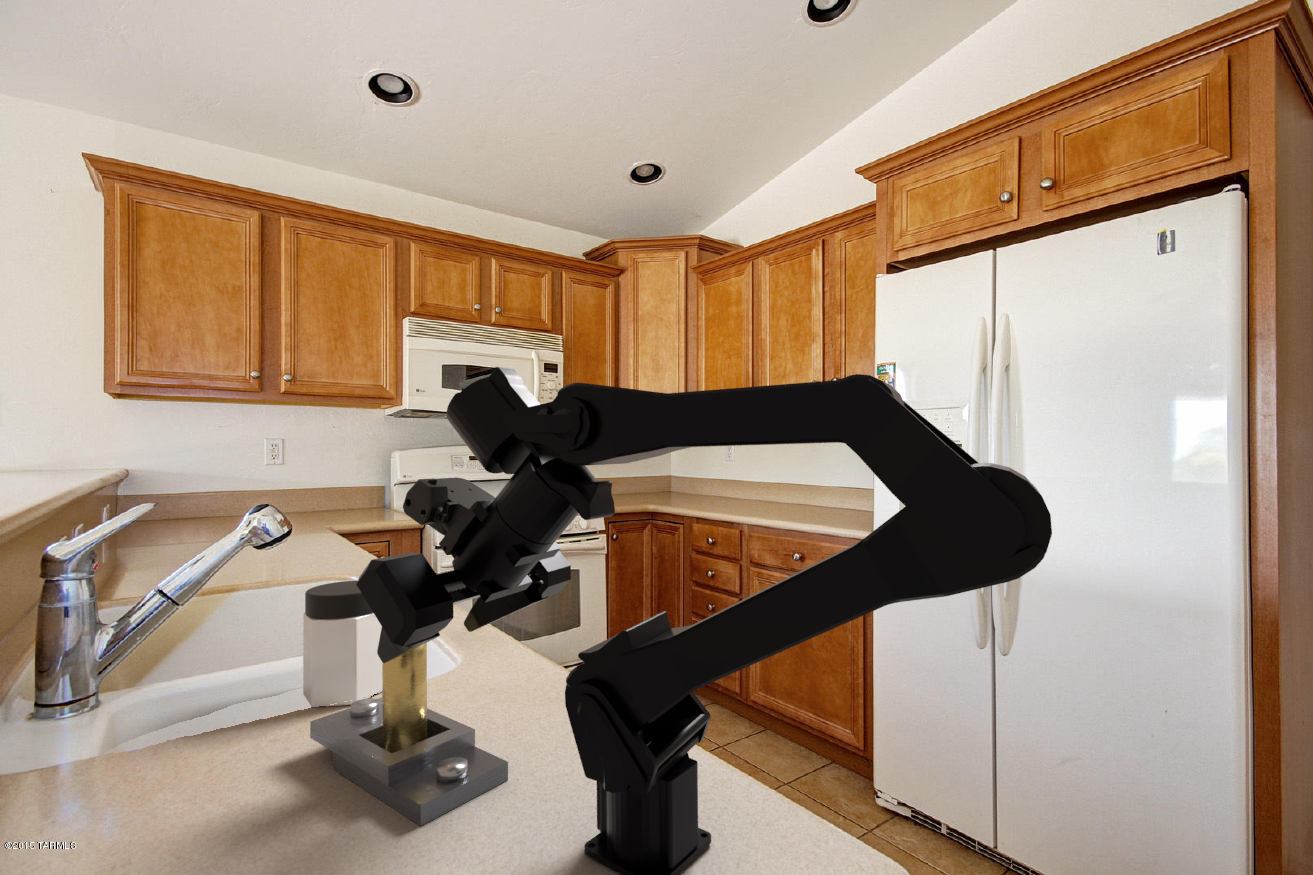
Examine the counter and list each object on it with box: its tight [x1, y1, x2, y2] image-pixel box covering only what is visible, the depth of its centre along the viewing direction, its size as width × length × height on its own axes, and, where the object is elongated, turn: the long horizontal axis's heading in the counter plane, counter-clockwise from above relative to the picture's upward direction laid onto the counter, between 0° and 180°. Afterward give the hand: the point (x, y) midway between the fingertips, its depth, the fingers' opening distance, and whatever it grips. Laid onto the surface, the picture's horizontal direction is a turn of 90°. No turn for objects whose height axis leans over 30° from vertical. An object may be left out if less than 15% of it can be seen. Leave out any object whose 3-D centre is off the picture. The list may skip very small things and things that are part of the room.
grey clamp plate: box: [309, 697, 509, 827], centre depth 55 cm, size 18×8×4 cm, turn 52°
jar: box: [302, 580, 382, 708], centre depth 72 cm, size 9×8×12 cm
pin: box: [381, 642, 428, 753], centre depth 55 cm, size 4×4×13 cm
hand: (427, 641), depth 53 cm, fingers open, 9 cm apart
